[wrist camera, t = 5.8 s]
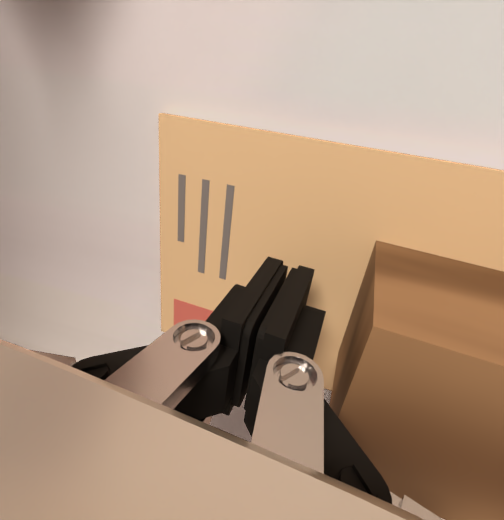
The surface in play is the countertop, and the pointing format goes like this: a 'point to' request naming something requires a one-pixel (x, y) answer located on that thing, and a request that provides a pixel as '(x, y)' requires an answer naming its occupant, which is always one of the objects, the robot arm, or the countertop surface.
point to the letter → (307, 216)
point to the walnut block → (428, 380)
